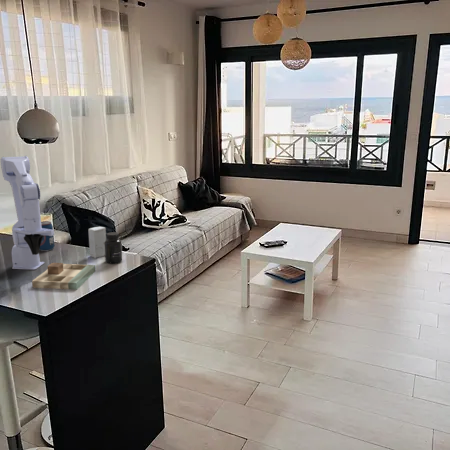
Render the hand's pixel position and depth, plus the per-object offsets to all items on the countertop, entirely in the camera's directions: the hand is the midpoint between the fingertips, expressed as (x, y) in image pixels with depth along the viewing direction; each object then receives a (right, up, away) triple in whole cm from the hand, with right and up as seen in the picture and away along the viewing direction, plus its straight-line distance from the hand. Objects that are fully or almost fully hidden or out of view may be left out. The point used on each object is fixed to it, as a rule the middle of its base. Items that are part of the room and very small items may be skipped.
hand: (35, 253), depth 163 cm
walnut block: (+7, -7, +1) cm, 10 cm away
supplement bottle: (+24, -5, +20) cm, 32 cm away
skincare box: (+15, -3, +28) cm, 32 cm away
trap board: (+10, -9, +2) cm, 14 cm away
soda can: (-10, 0, +36) cm, 37 cm away
